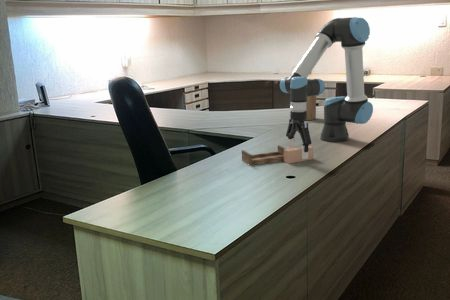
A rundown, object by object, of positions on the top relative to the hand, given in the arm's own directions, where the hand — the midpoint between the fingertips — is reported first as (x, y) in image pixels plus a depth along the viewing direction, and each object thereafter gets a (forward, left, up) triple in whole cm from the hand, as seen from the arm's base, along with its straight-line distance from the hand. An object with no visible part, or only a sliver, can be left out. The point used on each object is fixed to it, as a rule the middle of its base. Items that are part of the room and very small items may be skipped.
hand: (298, 155), depth 229 cm
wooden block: (-53, -87, -3) cm, 102 cm away
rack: (+14, -7, -2) cm, 16 cm away
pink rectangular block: (0, 0, -3) cm, 3 cm away
